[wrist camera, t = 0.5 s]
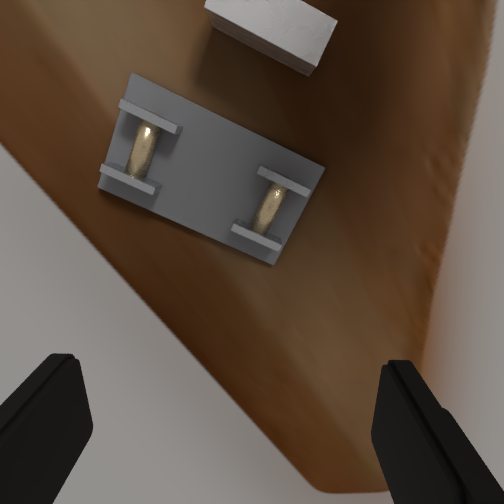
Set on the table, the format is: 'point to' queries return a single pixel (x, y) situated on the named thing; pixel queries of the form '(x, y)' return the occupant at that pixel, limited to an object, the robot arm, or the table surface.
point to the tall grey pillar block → (275, 29)
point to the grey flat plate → (208, 170)
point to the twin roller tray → (136, 178)
